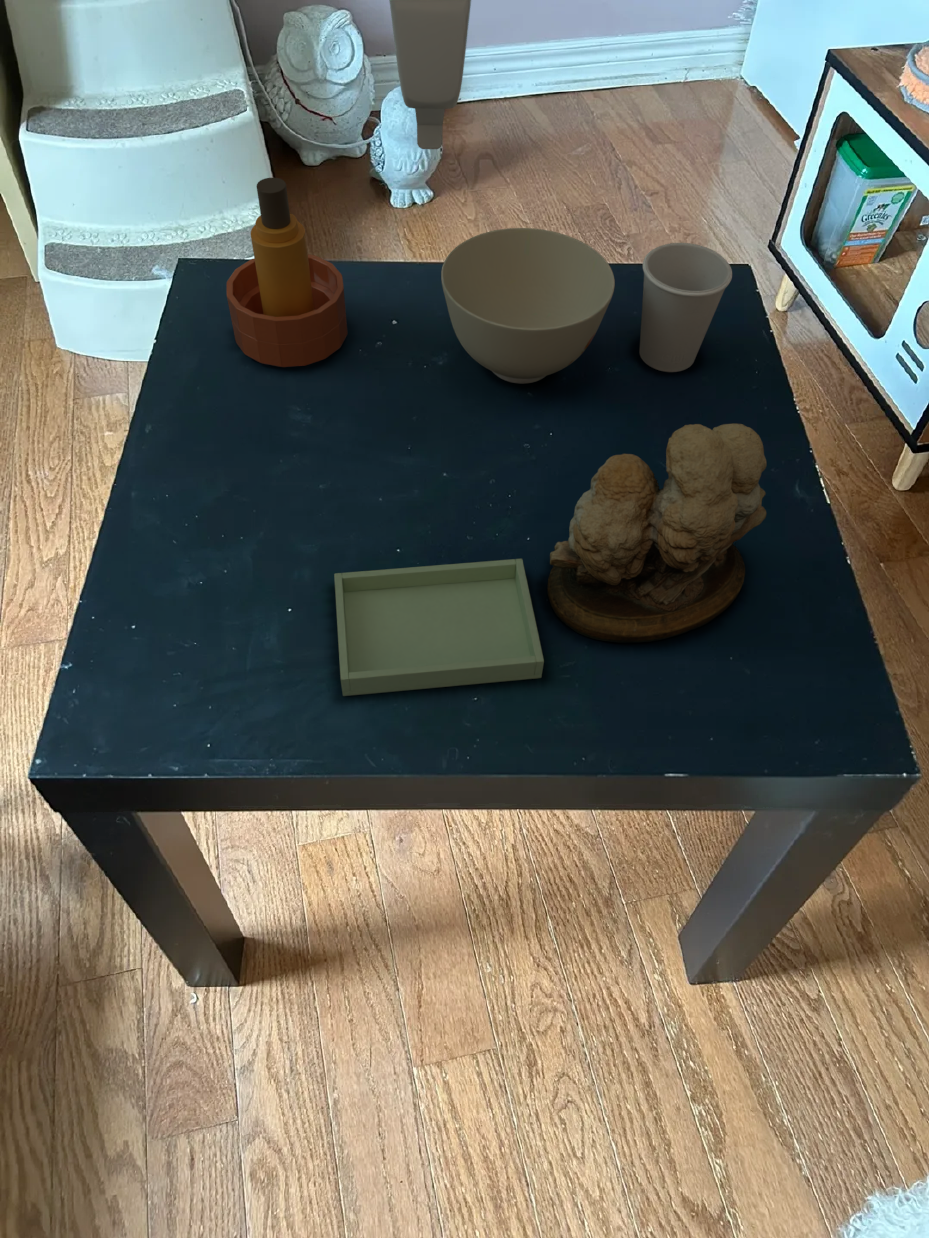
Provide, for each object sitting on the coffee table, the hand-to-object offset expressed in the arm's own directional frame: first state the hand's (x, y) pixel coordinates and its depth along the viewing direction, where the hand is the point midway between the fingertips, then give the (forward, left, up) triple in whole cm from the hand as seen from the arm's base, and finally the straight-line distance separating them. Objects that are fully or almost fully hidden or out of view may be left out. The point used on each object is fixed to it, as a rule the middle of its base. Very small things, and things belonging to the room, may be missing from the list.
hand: (428, 113), depth 73 cm
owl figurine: (+4, -30, -27) cm, 40 cm away
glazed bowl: (-8, +14, -27) cm, 31 cm away
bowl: (+10, -1, -27) cm, 29 cm away
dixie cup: (+24, -7, -27) cm, 37 cm away
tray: (-14, -25, -27) cm, 39 cm away
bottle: (-8, +14, -26) cm, 31 cm away
